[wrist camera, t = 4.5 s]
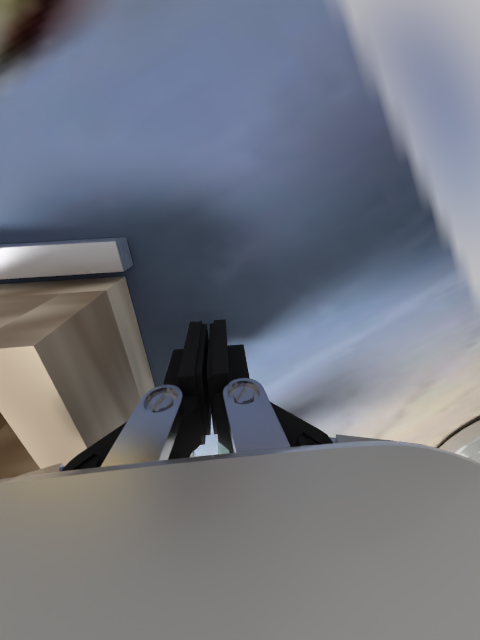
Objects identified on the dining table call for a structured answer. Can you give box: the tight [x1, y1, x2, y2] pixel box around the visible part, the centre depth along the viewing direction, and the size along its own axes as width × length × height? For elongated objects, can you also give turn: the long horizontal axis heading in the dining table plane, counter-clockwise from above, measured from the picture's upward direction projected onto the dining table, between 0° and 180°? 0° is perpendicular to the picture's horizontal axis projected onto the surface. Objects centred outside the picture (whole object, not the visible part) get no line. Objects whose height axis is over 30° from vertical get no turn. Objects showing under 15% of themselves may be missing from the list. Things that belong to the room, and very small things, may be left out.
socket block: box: [0, 276, 155, 479], centre depth 10 cm, size 7×7×6 cm
